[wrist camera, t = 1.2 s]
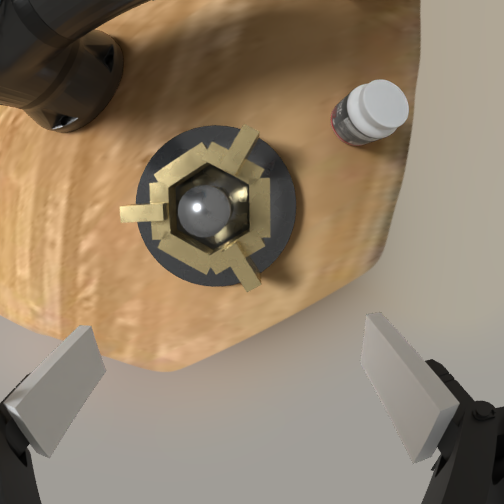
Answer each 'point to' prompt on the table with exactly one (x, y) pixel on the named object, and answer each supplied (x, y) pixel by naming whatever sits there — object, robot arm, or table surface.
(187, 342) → the table surface
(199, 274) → the hub plate
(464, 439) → the robot arm
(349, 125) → the pill bottle
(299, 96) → the table surface
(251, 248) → the taped hex socket base
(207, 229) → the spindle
